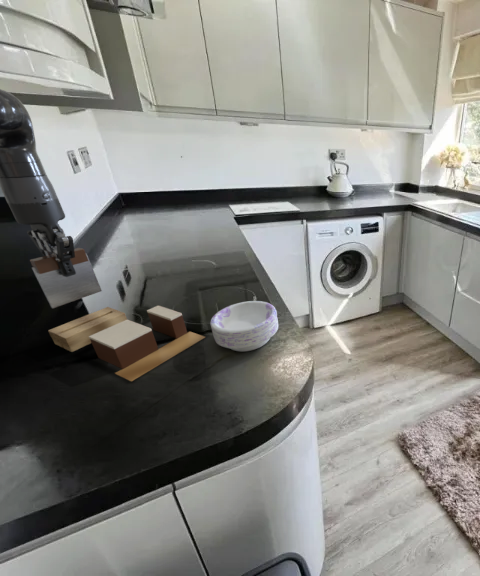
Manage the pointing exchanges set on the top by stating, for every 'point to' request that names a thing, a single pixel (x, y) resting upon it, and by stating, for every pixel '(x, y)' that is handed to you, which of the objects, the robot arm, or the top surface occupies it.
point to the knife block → (85, 328)
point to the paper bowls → (245, 325)
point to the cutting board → (159, 356)
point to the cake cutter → (65, 279)
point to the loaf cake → (124, 343)
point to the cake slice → (167, 321)
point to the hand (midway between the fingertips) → (66, 274)
